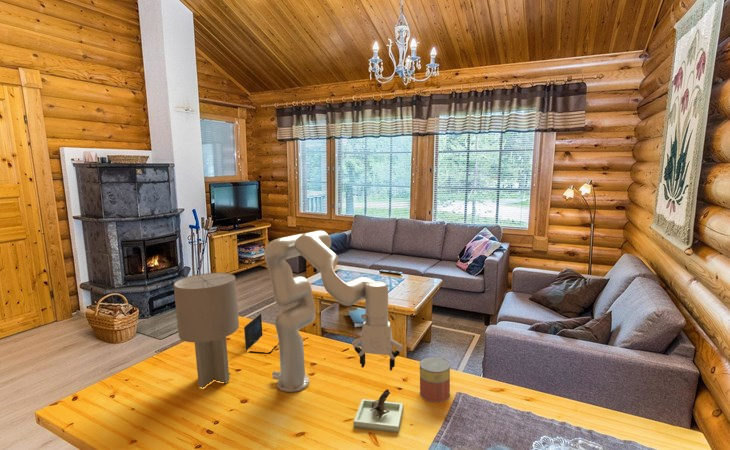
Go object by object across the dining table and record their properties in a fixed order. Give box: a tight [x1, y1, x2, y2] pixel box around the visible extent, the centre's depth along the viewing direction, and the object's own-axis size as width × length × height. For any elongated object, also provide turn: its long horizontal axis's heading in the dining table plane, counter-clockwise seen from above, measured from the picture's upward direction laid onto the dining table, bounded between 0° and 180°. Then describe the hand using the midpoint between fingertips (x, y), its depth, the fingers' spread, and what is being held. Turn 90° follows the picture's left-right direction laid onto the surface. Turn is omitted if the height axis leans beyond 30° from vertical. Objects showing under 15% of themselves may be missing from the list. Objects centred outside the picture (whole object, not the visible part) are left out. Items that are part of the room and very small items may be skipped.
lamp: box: [173, 272, 240, 388], centre depth 159 cm, size 23×23×43 cm
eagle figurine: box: [370, 389, 390, 419], centre depth 135 cm, size 8×7×9 cm
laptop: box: [243, 313, 278, 352], centre depth 193 cm, size 18×12×13 cm
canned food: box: [419, 356, 451, 403], centre depth 147 cm, size 11×11×12 cm
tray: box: [353, 398, 404, 433], centre depth 134 cm, size 15×13×2 cm
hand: (377, 367), depth 132 cm, fingers open, 9 cm apart
